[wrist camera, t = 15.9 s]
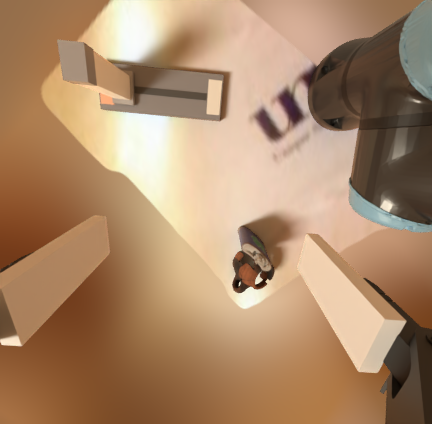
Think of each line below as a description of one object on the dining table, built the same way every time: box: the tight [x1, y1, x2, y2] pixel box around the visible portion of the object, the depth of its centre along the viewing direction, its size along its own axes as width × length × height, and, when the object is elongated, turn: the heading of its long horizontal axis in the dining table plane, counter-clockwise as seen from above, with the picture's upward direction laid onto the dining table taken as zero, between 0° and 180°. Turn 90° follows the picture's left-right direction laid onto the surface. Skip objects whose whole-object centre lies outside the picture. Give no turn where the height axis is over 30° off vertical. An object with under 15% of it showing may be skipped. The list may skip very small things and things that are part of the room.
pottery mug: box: [232, 251, 274, 293], centre depth 53 cm, size 12×10×8 cm
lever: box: [57, 40, 135, 106], centre depth 32 cm, size 4×6×14 cm
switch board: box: [99, 63, 224, 121], centre depth 40 cm, size 24×8×2 cm, turn 85°
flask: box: [238, 226, 272, 271], centre depth 47 cm, size 9×3×11 cm, turn 44°
